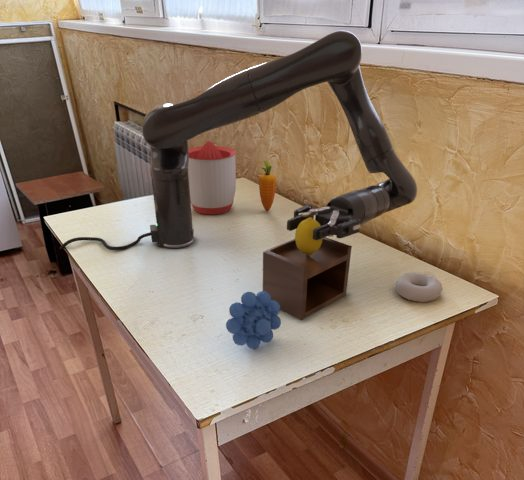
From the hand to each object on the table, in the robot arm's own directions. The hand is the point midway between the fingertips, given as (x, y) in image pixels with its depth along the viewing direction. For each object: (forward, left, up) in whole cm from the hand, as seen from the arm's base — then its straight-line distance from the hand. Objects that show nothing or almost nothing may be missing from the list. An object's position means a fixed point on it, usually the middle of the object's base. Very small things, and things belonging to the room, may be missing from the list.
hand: (301, 230), depth 97 cm
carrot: (+6, +56, -16) cm, 59 cm away
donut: (+27, -2, -16) cm, 32 cm away
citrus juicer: (-11, +62, -16) cm, 65 cm away
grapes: (-12, -16, -16) cm, 26 cm away
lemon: (+2, +1, -6) cm, 7 cm away
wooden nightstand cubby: (+2, +1, -16) cm, 16 cm away
